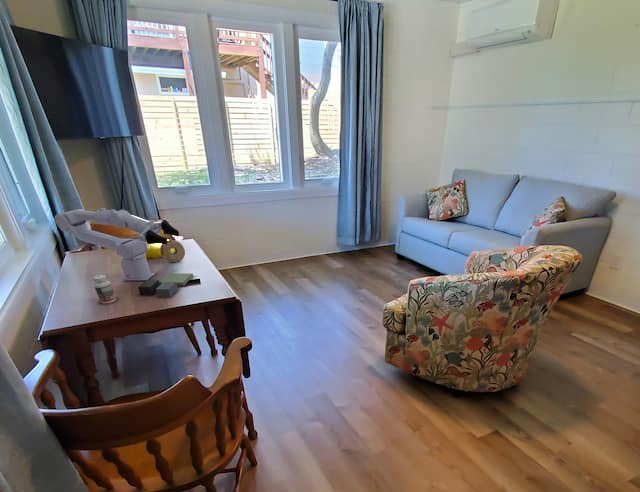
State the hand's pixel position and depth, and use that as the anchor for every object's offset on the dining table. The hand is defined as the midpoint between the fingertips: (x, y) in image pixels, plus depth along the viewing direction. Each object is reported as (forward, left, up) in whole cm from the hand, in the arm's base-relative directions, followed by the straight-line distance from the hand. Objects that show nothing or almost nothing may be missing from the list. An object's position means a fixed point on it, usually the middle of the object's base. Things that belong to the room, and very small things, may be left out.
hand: (172, 237), depth 157 cm
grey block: (-1, -13, -18) cm, 22 cm away
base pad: (-3, 0, -18) cm, 19 cm away
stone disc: (-14, +24, -19) cm, 34 cm away
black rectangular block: (-9, -11, -18) cm, 23 cm away
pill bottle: (-21, -20, -19) cm, 34 cm away
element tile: (-28, +36, -19) cm, 49 cm away
